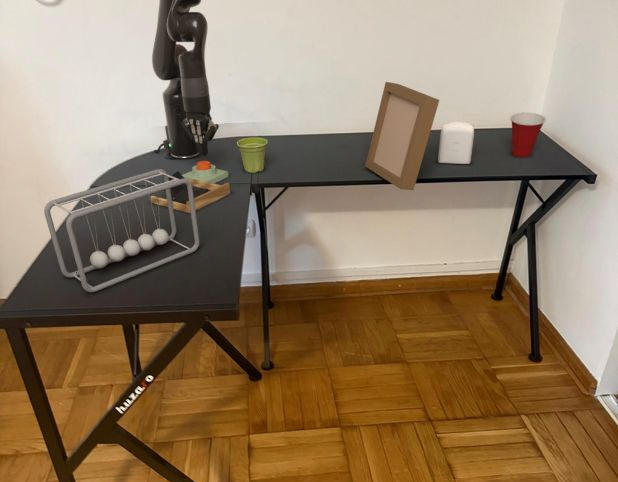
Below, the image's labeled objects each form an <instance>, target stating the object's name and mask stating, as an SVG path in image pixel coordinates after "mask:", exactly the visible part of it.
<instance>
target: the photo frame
mask: <svg viewBox="0 0 618 482" xmlns="http://www.w3.org/2000/svg"><path fill="white" fill-rule="evenodd" d="M439 103H440V99H439V98H435V97H433V96H431V95H428V94H425V93H423V92H420V91H418V90H415V89H413V88H410V87H407V86H405V85H403V84H400V83H395V82H391V81H390V82H389V81H385V82H384V88H383V91H382V94H381V100H380V104H379V108H378V112H377V114H376V115H377V116H376V120H375V125H374V128H373V132H372V137H371V141H370V145H369V147H368V153H367V157H366V161H365V166H364V167H366V168H367V169H369V170H370V171H372V172H373V173H375V174H376V175H378V176H379V177H381V178H382V179H384V180H385V181H387V182H388V183H390V184H391V185H394V186H395V187H397V188H398V189H400V190H403V191H404V190H405V191H414V190H415V187H416V183H417V179H418V177H419V174H420V173H419V172H420V169H421V166H422V162H423V160H424V159H423V158H424V155H425V152H426V148H427V145H428V141H429V137H430V134H431V131H432V128H433V124H434V120H435V117H436V113H437V110H438V107H439Z"/></svg>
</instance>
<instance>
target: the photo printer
mask: <svg viewBox="0 0 618 482" xmlns="http://www.w3.org/2000/svg"><path fill="white" fill-rule="evenodd" d="M474 128H475V127H474V125H473V124H471V123H468V122H465V121H450V122H446V123H444V124H442V127H441V129H440V133H439V134H440V135H439V146H438V156H437V162H438V163H439V164H454V165H455V164H456V165H457V164H460V165H470V164H471V161H472V153H473V147H474V138H475V129H474Z"/></svg>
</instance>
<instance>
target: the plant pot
mask: <svg viewBox="0 0 618 482" xmlns="http://www.w3.org/2000/svg"><path fill="white" fill-rule="evenodd" d="M268 143H269V142H268V140H267V139H266V138H262V137H255V136H254V137H244V138H241V139H238V140H237V141H236V145H237V147H238V150H239V152H240V157H241V161H242V164H243V170H244V171H245V172H247V173H252V174H256V173H258V172H263V171H264V169H265V159H266V158H265V156H266V148H267V144H268Z"/></svg>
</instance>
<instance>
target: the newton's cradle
mask: <svg viewBox="0 0 618 482" xmlns="http://www.w3.org/2000/svg"><path fill="white" fill-rule="evenodd" d="M159 176H162V178H163V181H164V183H162V182H161V183H158V184H156V183H153V182H152V181H149V180H151V179H152V178H157V177H159ZM169 177H170V178H172V179H174V180H171V181H169ZM140 182H144V184H145V187H146V188H142V189H141V188H139V187H137V186H135V185H133V184H137V183H140ZM147 182H148V183H151V184H153V185H151V186H149V187H148V186H147ZM182 184H186V185H187V189H188V196H189V203H190V211H191V213H190V218H191V225H192V232H193V238H194V244H193V246H191V247H188V246H186V245H184V244H182V243H181V242H178V241H176V240H175V239H174V238H176V235H177V224H176V218H175V211H174V210H175V209H173V204H172V201H173V200H172V197H171V191H170V188H172V187H175V186H178V185H182ZM127 186H129V188H130V192H129V193H124V192H122V191H119V190H118V189H121V188H123V187H127ZM132 187H134V188H136V189H138V190H136V191H133V190H132ZM192 187H193V186H192V184H191V182H190V181H189V180H187V179H177V178H175V177H172V175H169V174H168V173H167V171H165V169H162V168H156V169H154V170H150V171H147V172H143V173H140V174H137V175H133V176H130V177H127V178H123V179H119V180H117V181H112V182H109V183H106V184H103V185H99V186H96V187H93V188H89V189H86V190H82V191H80V192H75V193H72V194H69V195H65V196H62V197H58V198H55V199H52V200H50V201H48V202H47V203H46V204H45V206H44V210H43V212H44V217H45V221H46V224H47V227H48V231H49V234H50V237H51V241H52V245H53V248H54V252H55V256H56V258H57V262H58V266H59V269H60V272H61V274H62V275H63V276H64V277H66V278H68V279H72V278H76V279H77V280H78V281H80V284H81V287H82V288H83V290H84V291H85V292H87V293H97V292H99V291H101V290H103V289H107V288H109V287H112V286H114V285H116V284H119V283H122V282H124V281H126V280H128V279H131V278H133V277H136V276H139V275H141V274H144V273H146V272H148V271H150V270H153V269H156V268H158V267H161V266H163V265H166V264H168V263H170V262H174V261H176V260H178V259H181V258H183V257H185V256H188V255H191V254H193V253H195V252H196V251H197V250H198V249H199V246H200V233H199V227H198V219H197V210H196V211H195V203H194V196H193V188H192ZM164 190H166V192H165V196H166V199H167V203H168V207H167V208H168V214H169V221H170V226H171V227H170V228H171V232H170V234H169V233H168V232H167V231H166V230H165V229H163V228H161V222H160V221H161V220H160V217H158V222H157V217H156V215H155V211H154V208H153V203H151V196H150V195H154V194H156V193H157V196H156V197H159V193H160V192H162V191H164ZM109 191H113V192H114V195H115V197H113V198H111V199H110V198H107V197H105V196H104V195H101V194H104V193H106V192H107V193H108V192H109ZM116 192H118V193H121V194H122V195H120V196H117V193H116ZM94 196H97V197H98V200H99V202H98V203H95V204H92V203H90V202H88V201H87V200H85V199H87V198H91V197H94ZM100 196H101V197H103V199H106V200H104V201H101V198H100ZM144 197H148V199H149V202H150V206H151V210H152V213H153V216H154V220H155V224H156V228H157V229H155V230H154V231H153V232H152V234H149V233H147V229H146V228H144V227H146V219H145V216H143V224H144V227H143V225H142V220H141V218H140V215H139V211H138V210H139V209H138V207H137V204H136V200H138V199H141V198H142V202H144ZM78 201H81V204H82V207H81V208H79V209H75V210H72V211H71V210H69V209H67V208H65V207H64V205H68V204H70V203H74V202H78ZM131 201H133V203H134V206H135V209H136V212H137V217H138V220H139V223H140V227H141V230H142V234H140V236H139V237H138V239H137V240H136V239H132V236H131V234H132V233H131V225H130V214H129V205H128V203H129V202H131ZM84 202H85V203H87V204H89V205H88V206H84ZM125 203H126V209H127V210H126V211H127V219H128V228H129V229H128V228H127V226H126V223H125V220H124V216H123V213H122V210H121V206H120V205H122V204H125ZM55 206H56V207H57V208H59V209H61V210H62V211H64V212H66V213H68V214H70V215H69V216H67V218H66V221H65V227H66V231H67V235H68V238H69V242H70V246H71V250H72V253H73V257H74V261H75V265H76V268H77V270H75V271H73V272H69V271H68V269H67V267H66V264H65V260H64V256H63V253H62V249H61V246H60V241H59V239H58V235H57V232H56V229H55V225H54V220H53V218H52V214H51V209H52V208H53V207H55ZM116 206H118V208H119V212H120V215H121V219H122V222H123V225H124V228H125V231H126V235H127V238H128V239H126V240H125V241H124V243H123V244H122V245H120V244H117V243H116V235H115V226H114V219H113V211H112V208H113V207H116ZM107 209H110V216H111V222H112V223H111V224H112V231H113V232H112V233H113V237H112V233H111V230H110V227H109V223H108V220H107V217H106V215H105V211H104V210H107ZM100 211H102V212H103V216H104V220H105V223H106V227H107V229H108V232H109V235H110V238H111V241H112V245H110V247H108V249H107V253H106V252H104V251H102V250H100V249H99V242H98V233H97V223H96V215H95V213H97V212H100ZM142 211H143V214H145V205H144V203H142ZM157 213H158V214H160V205H159V201H158V205H157ZM91 214H93V220H94V221H93V222H94V228H95V229H94V231H95V238H96V241H95V239H94V235H93V233H92V229H91V226H90V223H89V219H88V215H91ZM84 216H85V218H86V221H87V224H88V227H89V231H90V234H91V238H92V241H93V245H94V247H95V251H93V252H92V254H90V257H89V262H90V264H91V265H88V266H85V267H84V265H83V262H82V257H81V254H80V249H79V246H78V242H77V238H76V235H75V231H74V228H73V223H74V221H75V220H76V219H79V218H82V217H84ZM127 229H128V230H127ZM128 231H129V233H128ZM113 239H114V240H113ZM169 242H174V243H175V244H177V245H179V246H181V247H182V248H185V250H182V251H180V252H177V253H175V254H173V255H170V256H168V257H165V258H162V259H160V260H157V261H155V262H153V263H149V264H147V265H145V266H143V267H140V268H138V269H135V270H132V271H129V272H127V273H125V274H122V275H120V276H118V277H115V278H113V279H110V280H107V281H104V282H103V283H100V284H97V285H95V286H92V285H91V284H89V283H88V280H87V277H86V273H90V272H92V271H95V270H97V269H104V268H105V267H106V266H108V265H111V264H113V263H115V262H116V263H117V262H118V263H119V262H122V261H123V260H124V259H126V258H129V257H135V256H137V255H139V254H140V253H141V252H145V251H150V250H152V249H153V248H155V247H158V246H163V245H165V244H167V243H169ZM76 272H77V273H76Z"/></svg>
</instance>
